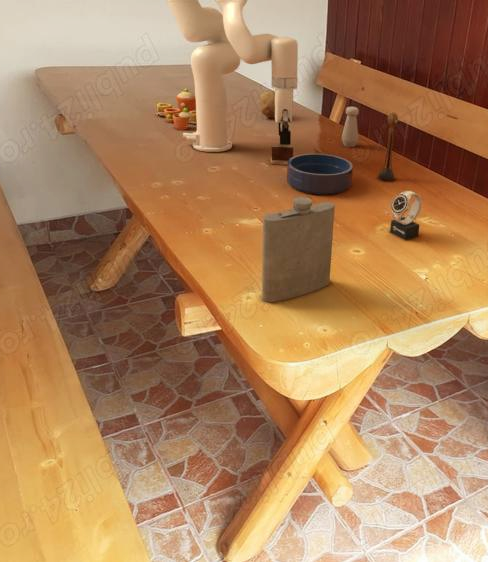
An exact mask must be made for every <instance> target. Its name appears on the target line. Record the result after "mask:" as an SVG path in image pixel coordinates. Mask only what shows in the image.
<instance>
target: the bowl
mask: <svg viewBox="0 0 488 562" xmlns="http://www.w3.org/2000/svg"><path fill="white" fill-rule="evenodd" d="M353 168H354V165H353V163H352V162H351V161H349V160H348V159H346V158H344V157H341V156H338V155H334V154H333V155H332V154H326V153H303V154H298V155H295V156H294V155H293V157H292V158H290V159H289V160H288V162H287V165H286V182H287V184H288V185H290V186H291V188H293V189H295V190H297V191H299V192H303V193H306V194H309V195H310V194H311V195H324V196H325V195H326V196H327V195H335V194H339V193H343V192H344V191H346V190H347V189H349V188H350V187H351V186H352V183H353V171H354V169H353Z"/></svg>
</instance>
